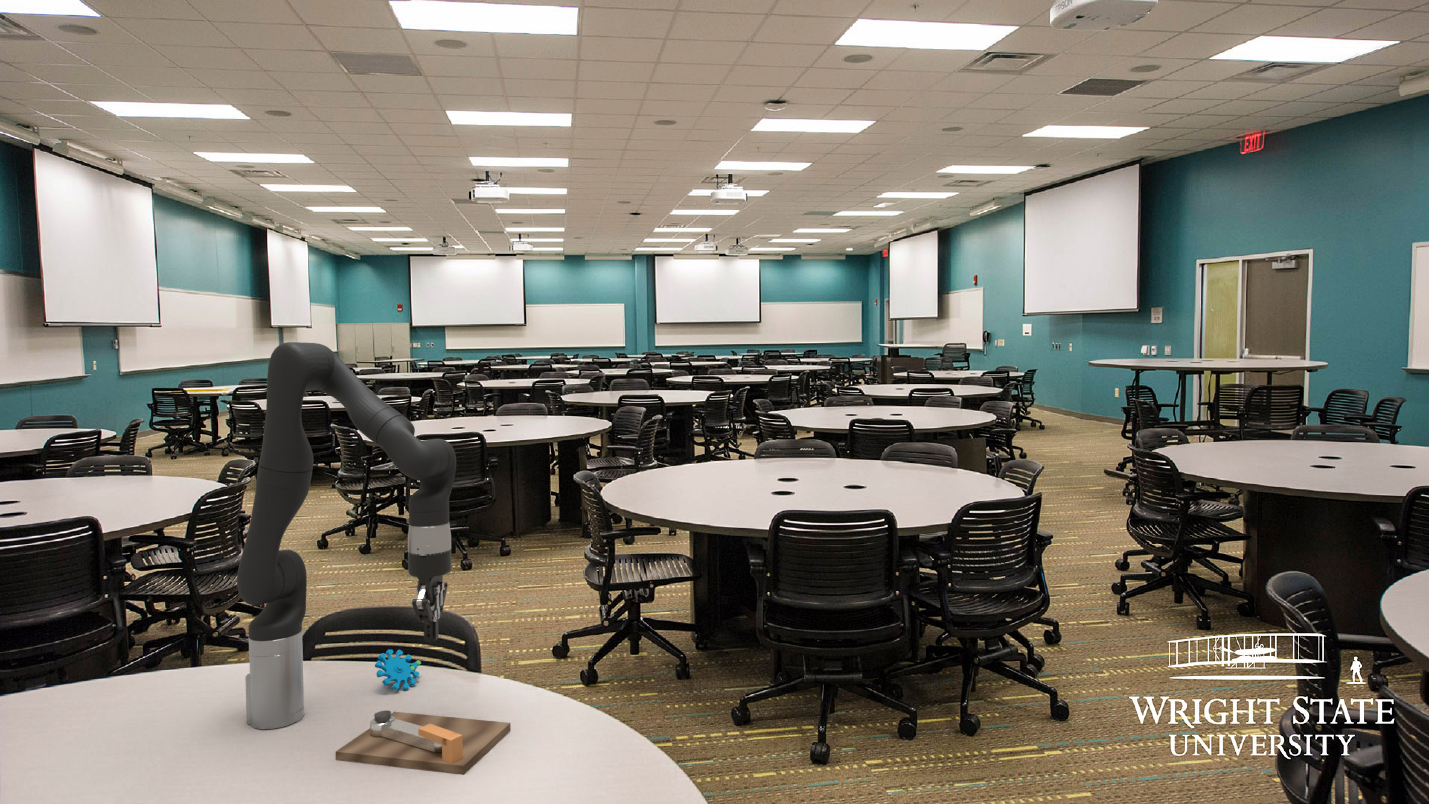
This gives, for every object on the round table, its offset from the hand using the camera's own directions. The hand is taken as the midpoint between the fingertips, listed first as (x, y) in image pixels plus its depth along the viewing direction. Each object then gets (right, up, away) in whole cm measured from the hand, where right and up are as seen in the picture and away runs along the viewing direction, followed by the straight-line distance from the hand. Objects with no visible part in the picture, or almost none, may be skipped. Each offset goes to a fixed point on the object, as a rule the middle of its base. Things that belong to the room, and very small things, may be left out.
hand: (431, 640), depth 147 cm
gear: (-17, -18, +27) cm, 37 cm away
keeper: (+4, -18, -8) cm, 20 cm away
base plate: (-1, -19, -1) cm, 19 cm away
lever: (-3, -17, -2) cm, 18 cm away
